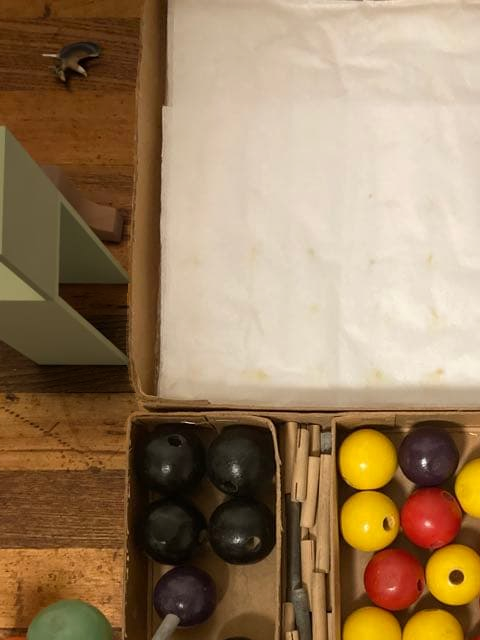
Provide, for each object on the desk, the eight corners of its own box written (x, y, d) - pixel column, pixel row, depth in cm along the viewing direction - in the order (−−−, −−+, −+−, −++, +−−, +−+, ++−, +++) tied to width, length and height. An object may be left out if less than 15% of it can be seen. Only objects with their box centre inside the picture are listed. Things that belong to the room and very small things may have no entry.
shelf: (38, 364, 149) (-134, 253, 101) (40, 276, 150) (-128, 124, 102) (128, 364, 150) (1, 254, 101) (130, 277, 151) (5, 125, 102)
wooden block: (124, 218, 151) (88, 168, 133) (121, 243, 151) (84, 195, 133) (74, 212, 151) (32, 161, 133) (71, 236, 151) (28, 188, 133)
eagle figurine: (81, 97, 151) (111, 56, 150) (48, 68, 146) (79, 24, 144) (67, 85, 156) (96, 45, 155) (33, 56, 150) (63, 14, 149)
